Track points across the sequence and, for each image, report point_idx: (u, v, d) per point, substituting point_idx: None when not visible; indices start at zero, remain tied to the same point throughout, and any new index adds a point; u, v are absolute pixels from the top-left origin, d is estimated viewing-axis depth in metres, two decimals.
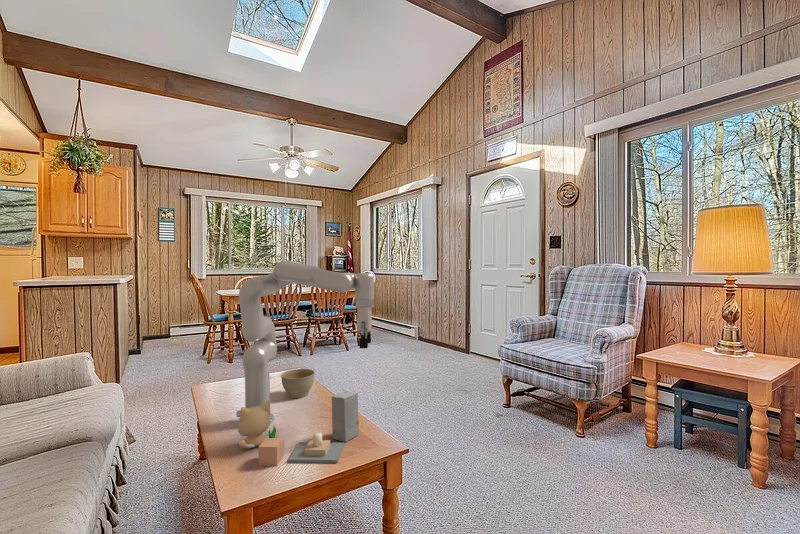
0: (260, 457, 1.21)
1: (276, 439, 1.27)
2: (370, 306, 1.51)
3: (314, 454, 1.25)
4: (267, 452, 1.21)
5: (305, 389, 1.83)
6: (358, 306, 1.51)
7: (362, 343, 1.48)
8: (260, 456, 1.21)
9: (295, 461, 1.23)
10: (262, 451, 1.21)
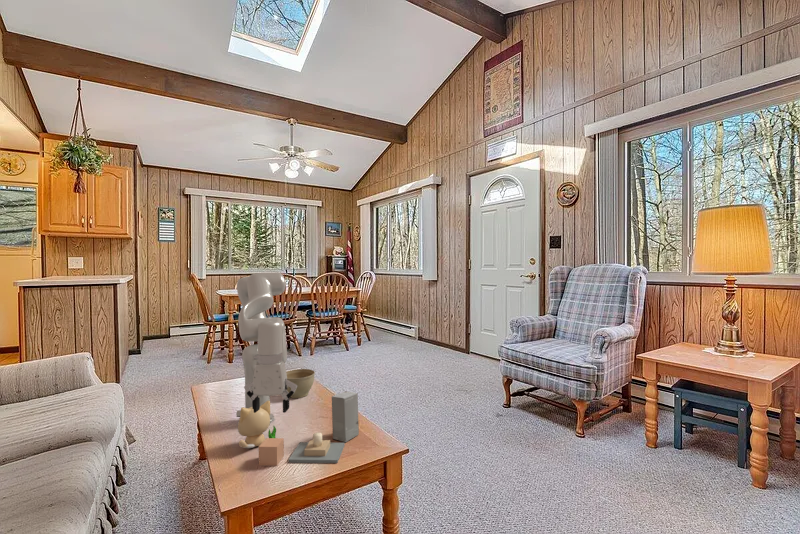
0: (260, 457, 1.21)
1: (276, 439, 1.27)
2: None
3: (314, 454, 1.25)
4: (267, 452, 1.21)
5: (305, 389, 1.83)
6: (277, 362, 1.22)
7: (288, 405, 1.23)
8: (260, 456, 1.21)
9: (295, 461, 1.23)
10: (262, 451, 1.21)
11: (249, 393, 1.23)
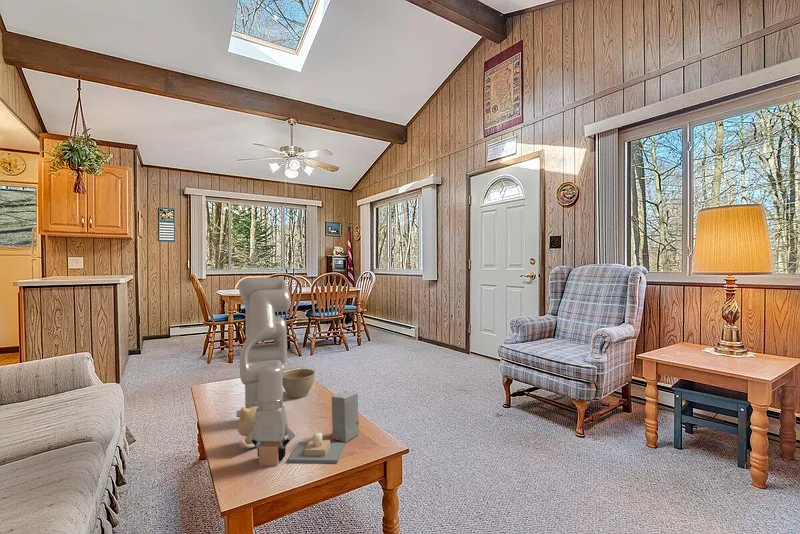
0: (260, 457, 1.21)
1: None
2: None
3: (314, 454, 1.25)
4: (267, 452, 1.21)
5: (305, 389, 1.83)
6: (277, 409, 1.22)
7: (284, 453, 1.24)
8: (260, 456, 1.21)
9: (295, 461, 1.23)
10: (262, 451, 1.21)
11: (254, 441, 1.24)
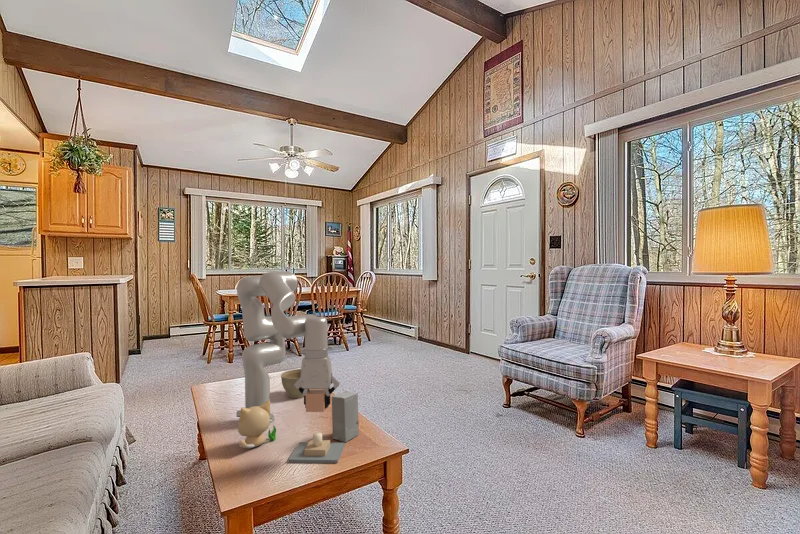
0: (307, 404, 1.25)
1: None
2: None
3: (314, 454, 1.25)
4: (314, 399, 1.25)
5: None
6: (323, 357, 1.26)
7: (329, 400, 1.28)
8: (307, 403, 1.25)
9: (295, 461, 1.23)
10: (309, 398, 1.25)
11: (301, 389, 1.28)
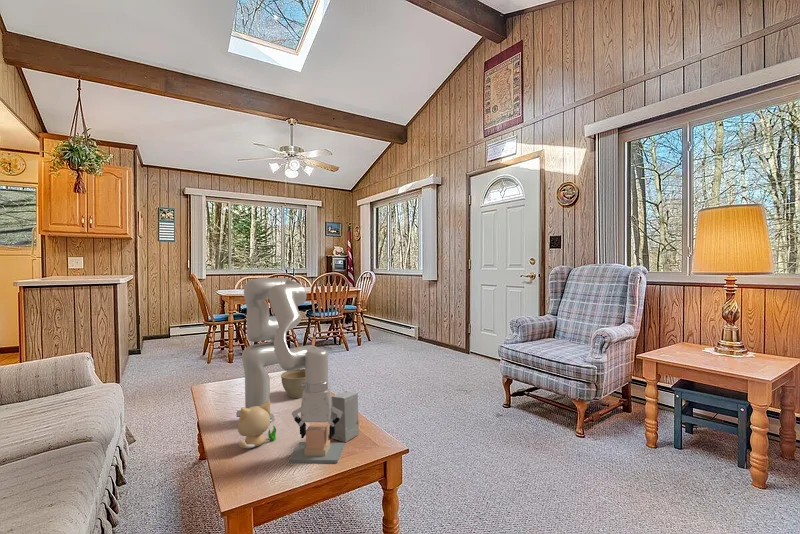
0: (307, 441, 1.26)
1: (321, 424, 1.31)
2: None
3: (314, 454, 1.25)
4: (314, 436, 1.25)
5: None
6: (324, 391, 1.26)
7: (334, 431, 1.28)
8: (307, 440, 1.26)
9: (295, 461, 1.23)
10: (309, 435, 1.26)
11: (296, 419, 1.28)
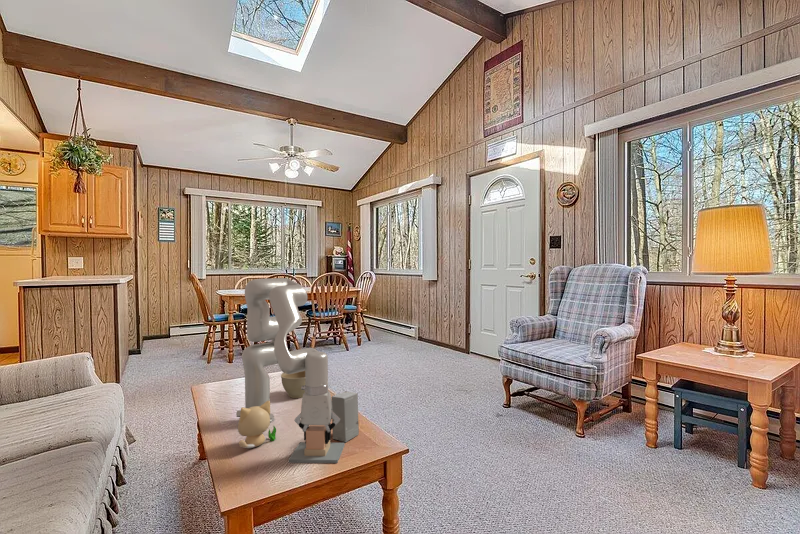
0: (307, 441, 1.26)
1: None
2: None
3: (314, 454, 1.25)
4: (314, 436, 1.25)
5: None
6: (324, 393, 1.26)
7: (330, 436, 1.28)
8: (307, 440, 1.26)
9: (295, 461, 1.23)
10: (309, 435, 1.26)
11: (301, 425, 1.28)
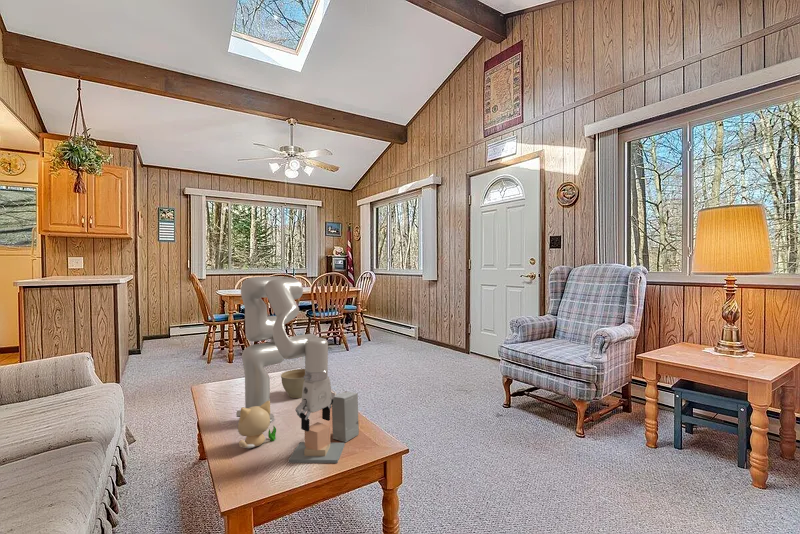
0: (318, 442, 1.25)
1: (313, 424, 1.30)
2: None
3: (314, 454, 1.25)
4: (323, 434, 1.27)
5: None
6: None
7: None
8: (318, 441, 1.25)
9: (295, 461, 1.23)
10: (319, 435, 1.25)
11: (302, 414, 1.23)
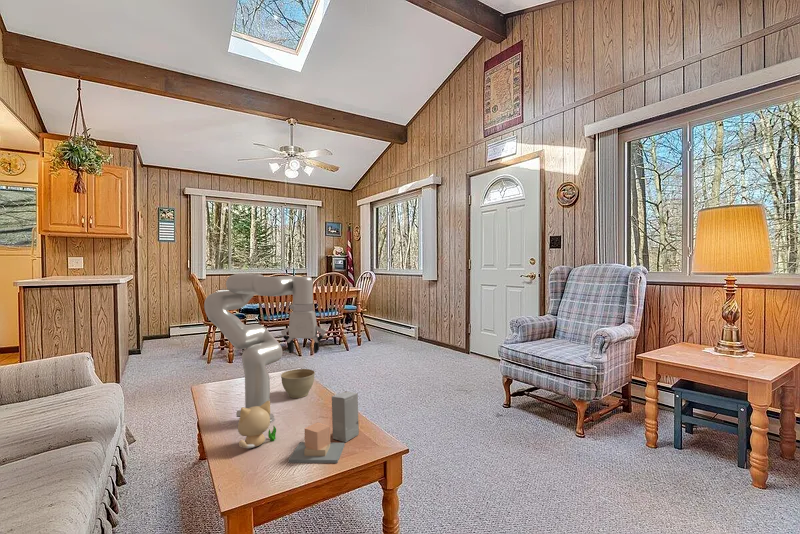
0: (318, 442, 1.25)
1: (313, 424, 1.30)
2: None
3: (314, 454, 1.25)
4: (323, 434, 1.27)
5: (305, 389, 1.83)
6: (309, 311, 1.44)
7: (318, 347, 1.46)
8: (318, 441, 1.25)
9: (295, 461, 1.23)
10: (319, 435, 1.25)
11: (285, 337, 1.46)
